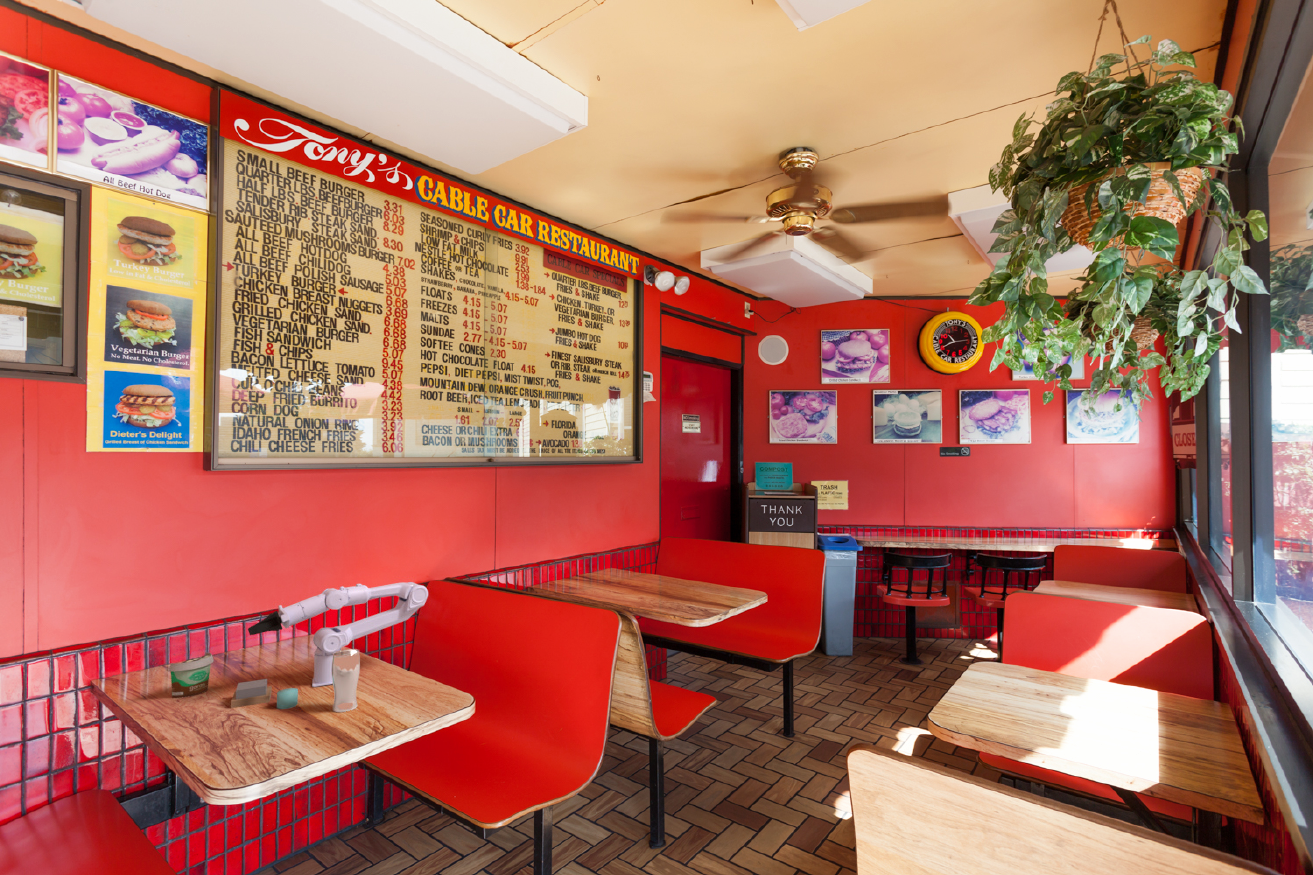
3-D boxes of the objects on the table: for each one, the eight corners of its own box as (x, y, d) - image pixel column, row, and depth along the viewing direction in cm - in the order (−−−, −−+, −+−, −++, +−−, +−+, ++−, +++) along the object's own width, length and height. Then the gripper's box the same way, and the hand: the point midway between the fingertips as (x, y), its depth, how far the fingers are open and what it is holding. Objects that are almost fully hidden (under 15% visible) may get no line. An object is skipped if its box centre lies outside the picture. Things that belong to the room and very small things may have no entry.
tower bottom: (271, 694, 185) (271, 685, 185) (269, 704, 177) (269, 695, 177) (234, 700, 180) (234, 691, 181) (230, 710, 172) (231, 701, 173)
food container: (185, 701, 178) (186, 665, 179) (167, 699, 179) (168, 663, 180) (223, 686, 190) (224, 652, 191) (206, 685, 191) (207, 651, 192)
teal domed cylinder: (297, 701, 177) (298, 686, 178) (297, 707, 173) (297, 692, 173) (277, 704, 175) (277, 689, 175) (276, 710, 171) (276, 695, 171)
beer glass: (364, 705, 174) (365, 649, 175) (344, 714, 168) (346, 657, 168) (345, 702, 176) (346, 647, 177) (324, 711, 170) (325, 654, 171)
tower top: (267, 687, 183) (267, 678, 184) (265, 694, 177) (265, 685, 177) (238, 691, 180) (238, 682, 180) (236, 699, 174) (236, 690, 174)
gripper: (293, 600, 196) (243, 619, 187) (300, 596, 185) (248, 617, 176) (300, 621, 195) (251, 642, 187) (308, 619, 184) (256, 640, 176)
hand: (250, 631), depth 181 cm, fingers open, 7 cm apart
